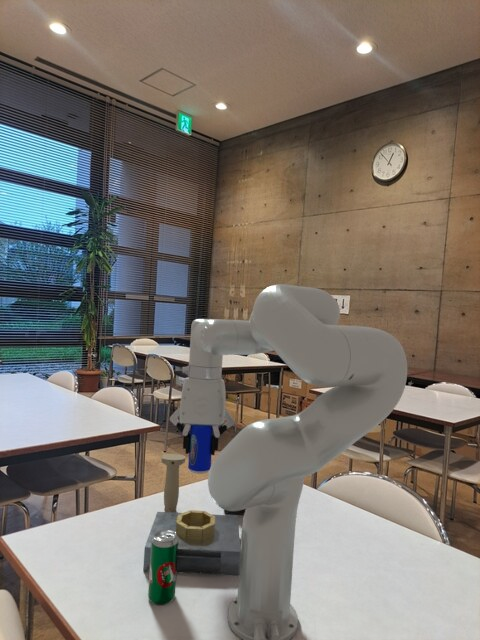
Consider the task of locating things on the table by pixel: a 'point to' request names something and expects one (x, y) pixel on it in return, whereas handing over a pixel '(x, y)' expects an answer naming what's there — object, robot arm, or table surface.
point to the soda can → (163, 567)
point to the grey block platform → (200, 541)
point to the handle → (172, 480)
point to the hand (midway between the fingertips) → (200, 451)
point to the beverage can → (200, 448)
